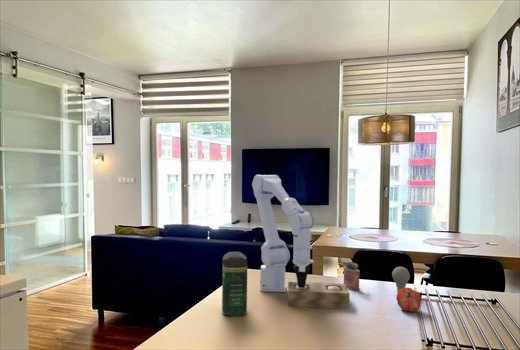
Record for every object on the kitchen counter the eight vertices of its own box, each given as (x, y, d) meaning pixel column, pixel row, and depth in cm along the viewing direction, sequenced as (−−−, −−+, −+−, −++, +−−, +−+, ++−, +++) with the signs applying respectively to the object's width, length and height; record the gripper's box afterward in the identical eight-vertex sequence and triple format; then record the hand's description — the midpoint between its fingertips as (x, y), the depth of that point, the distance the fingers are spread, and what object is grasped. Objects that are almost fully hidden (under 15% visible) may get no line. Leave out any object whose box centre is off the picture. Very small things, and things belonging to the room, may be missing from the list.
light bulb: (410, 293, 130) (411, 266, 130) (407, 298, 125) (408, 270, 125) (393, 290, 134) (394, 264, 134) (390, 294, 129) (390, 267, 129)
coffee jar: (248, 316, 109) (248, 256, 109) (222, 317, 108) (223, 257, 107) (245, 304, 118) (245, 249, 118) (221, 306, 117) (221, 250, 117)
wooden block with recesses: (288, 306, 117) (288, 291, 117) (288, 295, 127) (288, 281, 127) (349, 308, 116) (349, 293, 116) (344, 297, 126) (345, 283, 125)
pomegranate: (395, 311, 119) (391, 301, 112) (401, 291, 122) (397, 280, 115) (419, 319, 115) (416, 309, 108) (424, 298, 118) (422, 286, 111)
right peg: (328, 304, 119) (328, 289, 119) (327, 299, 123) (327, 285, 123) (340, 304, 119) (340, 290, 119) (338, 300, 123) (338, 286, 123)
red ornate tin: (341, 285, 139) (341, 260, 139) (347, 284, 140) (348, 259, 140) (354, 292, 132) (354, 265, 132) (361, 290, 133) (362, 264, 133)
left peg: (295, 302, 120) (295, 288, 120) (295, 298, 124) (295, 284, 124) (307, 303, 120) (307, 288, 120) (306, 299, 124) (307, 285, 124)
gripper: (314, 252, 114) (314, 294, 114) (312, 243, 129) (312, 280, 129) (292, 252, 115) (292, 293, 115) (292, 243, 129) (292, 280, 129)
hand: (301, 286), depth 122 cm, fingers closed, pressing on left peg
